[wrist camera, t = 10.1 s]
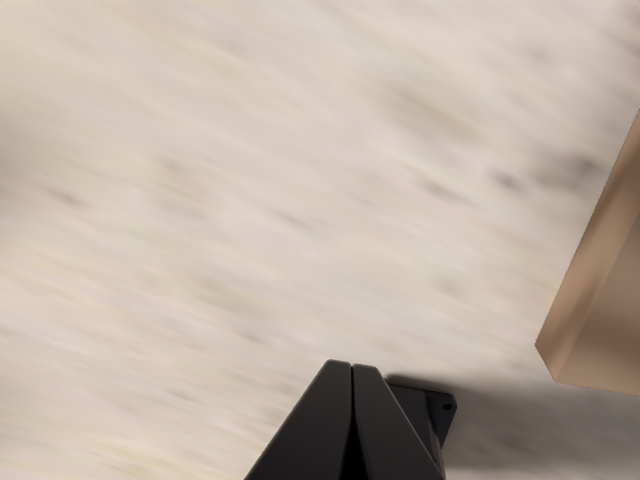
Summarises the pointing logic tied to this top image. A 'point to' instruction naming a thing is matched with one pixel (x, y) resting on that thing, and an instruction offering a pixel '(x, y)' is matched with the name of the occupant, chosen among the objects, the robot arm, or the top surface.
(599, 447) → the top surface
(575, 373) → the trap board
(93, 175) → the top surface
